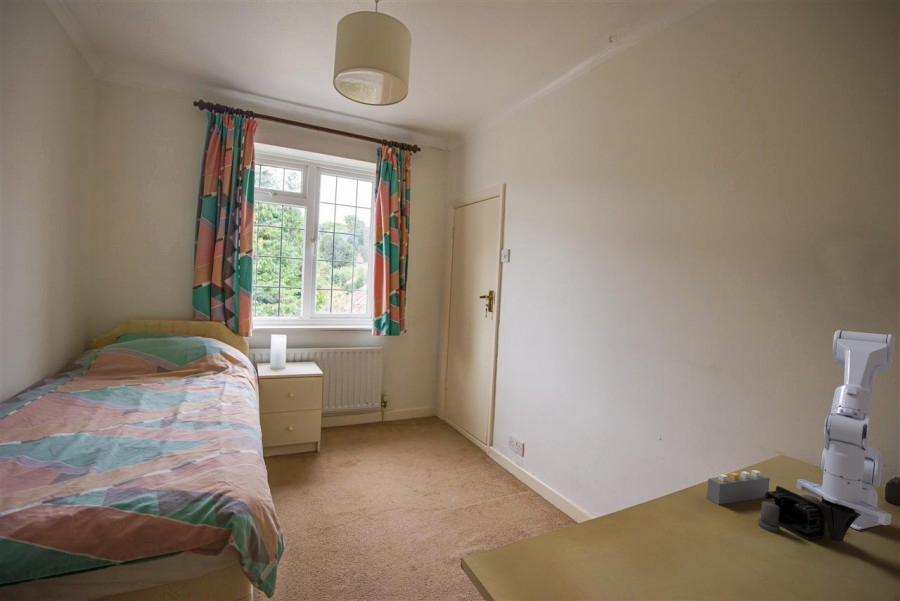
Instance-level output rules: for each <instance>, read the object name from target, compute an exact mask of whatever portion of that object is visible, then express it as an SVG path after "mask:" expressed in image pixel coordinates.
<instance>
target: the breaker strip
mask: <svg viewBox="0 0 900 601" xmlns="http://www.w3.org/2000/svg"><path fill="white" fill-rule="evenodd" d="M770 478H771V477H769V476H767V475H765V474H762V472H761V471H759V470H757V469H755V470H751V472H747V471H745V470H744V471H740V474H738V473H736V472H731V473H729V475H726V474H724V473H721V474H718V476H717V477H711V478H710V477H709V478H707V479H708V480H707V490H706V491H707V492H706V499H707V500H708V501H710V502H713V503H714V504H716V505H725V504H731V503H737V502H743V501H745V502H746V501H751V500H757V499H763V498H764V499H765V493H766V492H769V490H770V480H771V479H770Z"/></svg>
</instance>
